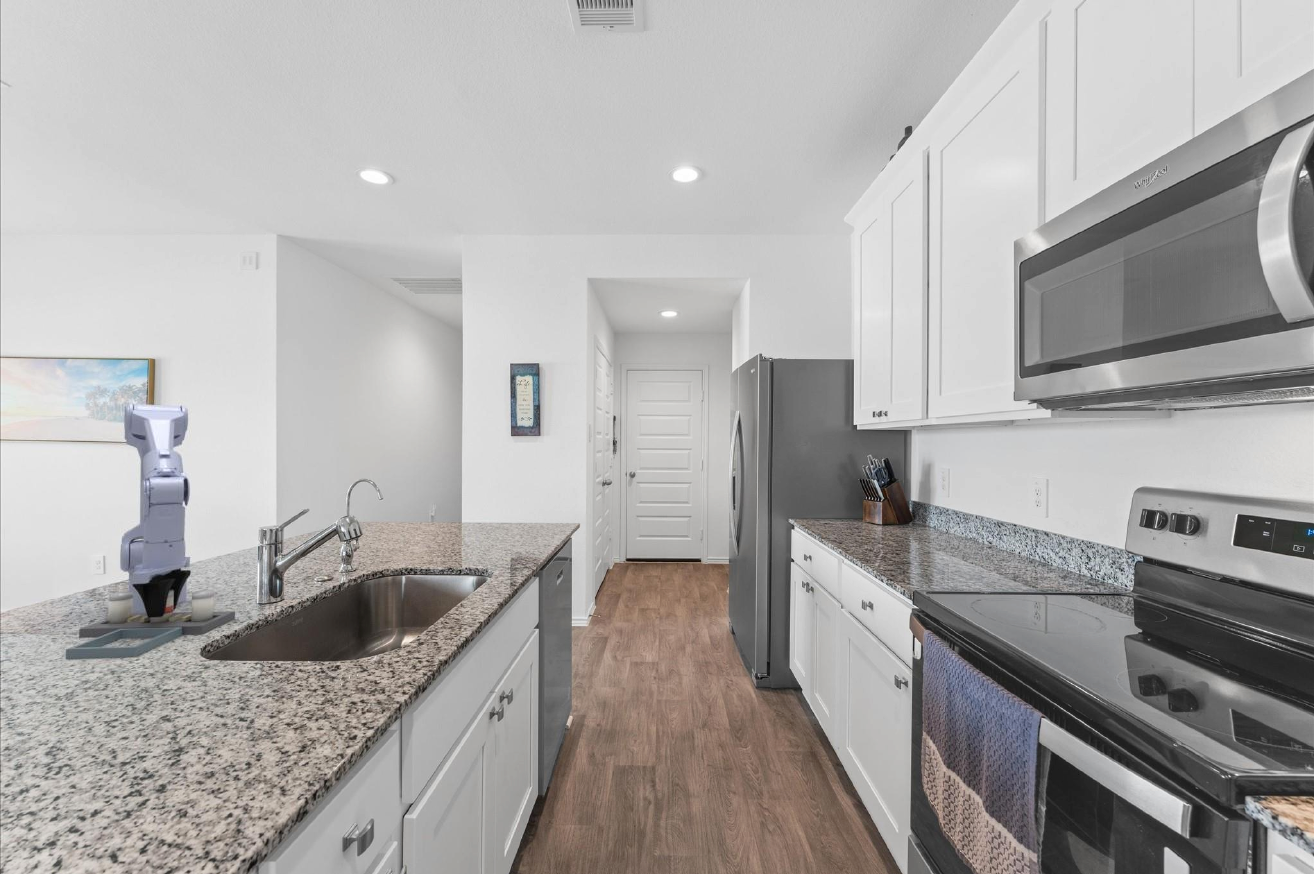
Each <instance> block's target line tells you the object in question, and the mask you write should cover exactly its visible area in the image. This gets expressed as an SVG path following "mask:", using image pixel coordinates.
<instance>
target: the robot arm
mask: <svg viewBox="0 0 1314 874" xmlns="http://www.w3.org/2000/svg"><path fill="white" fill-rule="evenodd" d="M188 411H189V410H188V408H187V407H186V406H185V405H180V406H179V405H162V404H161V405H160V404H143V403H142V404H141V403H134V402H133V403H132V402H129V403H127V404H125V406H124V418H123V419H124V420H123V421H124V422H123V423H124V425H123V427H124V429H123V430H124V440H125V444H126V445H128V446H131V447H133V448H135V449H136V450H137V452H138V456H139V458H140V478H139V479H140V496H139V499H140V500H139V523H138V524H137V525H136V526H133V527H132V528H131V529H128V530H127V531H126V532H125V533H124V534H123V535H122V538H121V544H120V553H119V554H120V555H119V556H120V557H119V558H120V561H119V568H120V570H121V571H123V572H125V573H126V572H127V573H128V588H127V589H128V590H127V591H133V610H132V613H147V616H148V618H152V617H162V616H163V615H164V613H165V609H166V603H167V597H168V594H169V591H170V590H174V600H173V604H174V611H175V610H176V608H177V605H178V604H179V603H183V602H186V601H187V588H188V586H187V585H188V578H189V577H190V576H191V574H192V573H191V570H189V569H183V568H189V567H190V566H191V564H190V563H191V557H190V556H186V540H185V529H186V528H185V525H186V522H185V521H186V507H187V506H188V504H189V501H190V495H191V490H190V489H191V488H190V487H191V485H190V480H189V477H188V475H187V473H186V472H185V473H184V466H183V459H182V456H181V454H180V453H179V452H177V451H176V450H174V448H176V447H179V446H181V445H182V444H183V441H184V440H185V437H186V433H187V430H188V427H189V426H188V425H189V412H188ZM184 505H185V506H184Z"/></svg>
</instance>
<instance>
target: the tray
mask: <svg viewBox="0 0 1314 874" xmlns="http://www.w3.org/2000/svg"><path fill="white" fill-rule="evenodd" d="M182 636H183V635H182V627H172V628H130V629H119V630H116V631H113V632H111V633H108V634H105V635H103V636H100V637H94V638H92V639H89V640H86V641H85V642H82V643H78V644H76V645H74V646H71V647H69V648H66V649H65V660H78V659H79V660H81V659H87V660H88V659H115V658H116V659H117V658H118V659H119V658H136V657H138V656H141V655H142V654H143V655H144V654H145V653H147V652H149V651H153V650H154V649H157V648H158V647H159V648H160V647H161V646H163V645H165V644H167V643H170V642H172V641H174V640H176V639H179V638H181V637H182ZM121 639H148V640H146V641H144V642H143V641H142V642H141V643H139V644H136V645H130V646H129V645H127V646H126V645H125V646H106V645H109V644H112V643H114V642H116V641H118V640H121Z"/></svg>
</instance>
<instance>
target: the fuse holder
mask: <svg viewBox="0 0 1314 874" xmlns="http://www.w3.org/2000/svg"><path fill="white" fill-rule="evenodd" d="M234 620H236V611H233V610H231V611H229V610H227V611H223V610H222V611H213V619H211V620H209V621H207V622H191V611H184V612H181V611H180V612H179V611H178V612H177V611H176V612H173V617H170V618H169V621H168V622H165V623H150V618H148V616H147V613H146V612H143V613H132V617H131V618H129V619H127V622H126V623H123V624H108V618H107V619H106V618H105V619H103V620H101V621H98V622H95V623H92V624H90V625H86V626H83V627H80V628H79V629H78V631H79V633H78V638H80V639H81V638H97V637H100V636H103V635H105V634H108V633H111V632H113V631H116V630H119V629H130V628H172V627H182V636H196V635H197V636H201V635H205V634H206V633H209V632H210V631H213V630H214V629H217V628H219V627H221V626H223V625H225V624H227V623H229V622H230V623H231V622H232V621H234Z"/></svg>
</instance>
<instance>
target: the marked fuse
mask: <svg viewBox="0 0 1314 874" xmlns="http://www.w3.org/2000/svg"><path fill="white" fill-rule="evenodd" d="M173 600H174V590H170V591H169V594H168V597H167V603H166V609H165V613H164V615H163V616H162V617H152V618H150V623H165V622H168V621H169V618H170V617H173V613H174V611H175V610H174V604H173Z"/></svg>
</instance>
